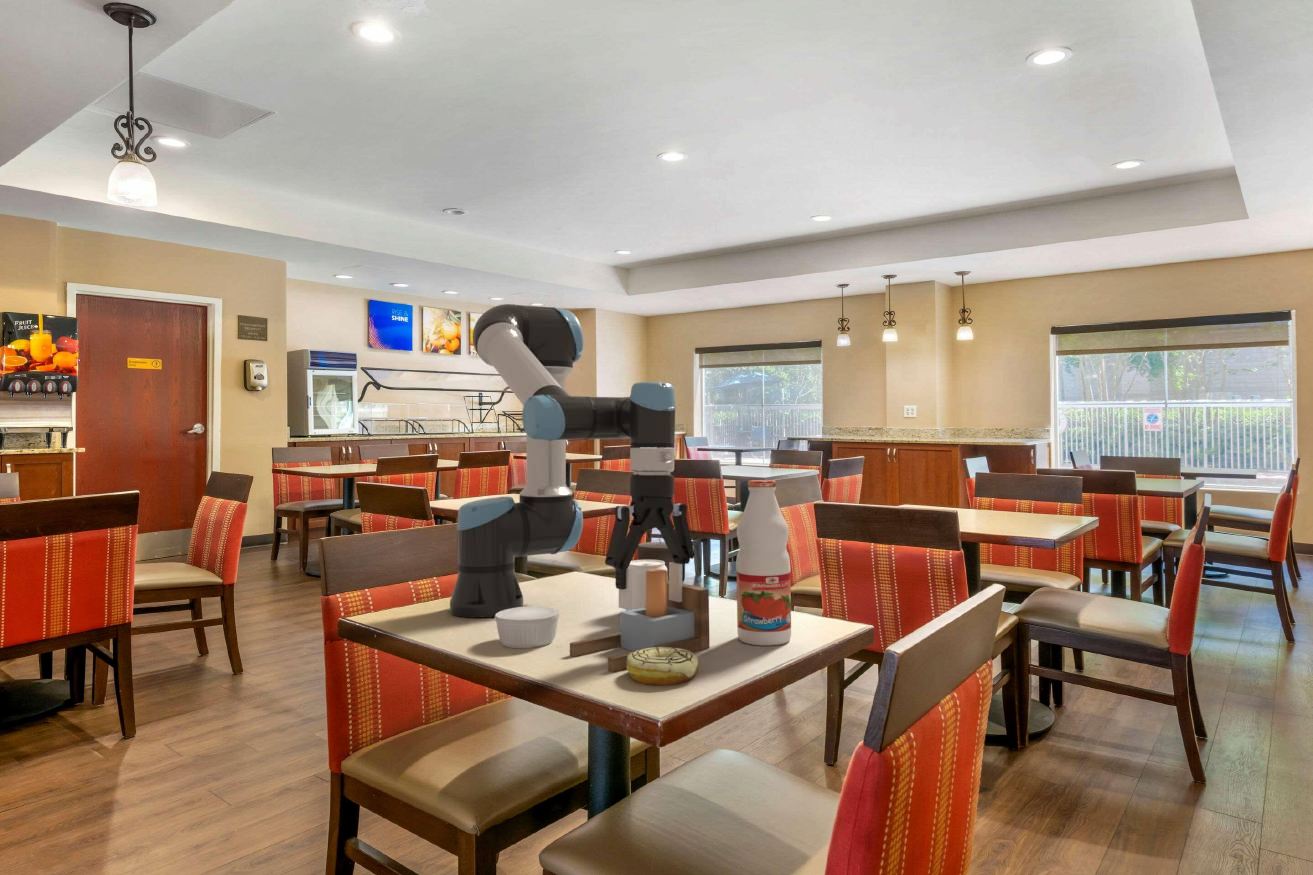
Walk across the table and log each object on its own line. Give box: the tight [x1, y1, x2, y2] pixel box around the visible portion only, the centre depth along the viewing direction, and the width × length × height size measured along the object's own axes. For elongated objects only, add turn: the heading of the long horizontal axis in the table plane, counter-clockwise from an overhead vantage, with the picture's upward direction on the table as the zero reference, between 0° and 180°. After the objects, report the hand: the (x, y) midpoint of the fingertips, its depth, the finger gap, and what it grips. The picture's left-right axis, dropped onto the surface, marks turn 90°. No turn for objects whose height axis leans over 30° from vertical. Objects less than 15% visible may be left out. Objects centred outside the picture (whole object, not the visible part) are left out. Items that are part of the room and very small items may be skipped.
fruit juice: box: [735, 479, 792, 647], centre depth 133 cm, size 9×9×28 cm
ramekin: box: [494, 605, 560, 649], centre depth 134 cm, size 11×11×5 cm
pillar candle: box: [636, 537, 684, 584], centre depth 157 cm, size 10×10×15 cm
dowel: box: [646, 569, 667, 618], centre depth 129 cm, size 4×4×12 cm
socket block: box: [619, 606, 695, 652], centre depth 129 cm, size 9×9×6 cm
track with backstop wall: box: [569, 580, 711, 673], centre depth 127 cm, size 12×20×10 cm, turn 129°
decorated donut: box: [626, 647, 699, 686], centre depth 114 cm, size 10×11×4 cm
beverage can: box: [625, 559, 667, 611], centre depth 145 cm, size 8×8×12 cm
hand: (651, 604), depth 128 cm, fingers open, 10 cm apart
